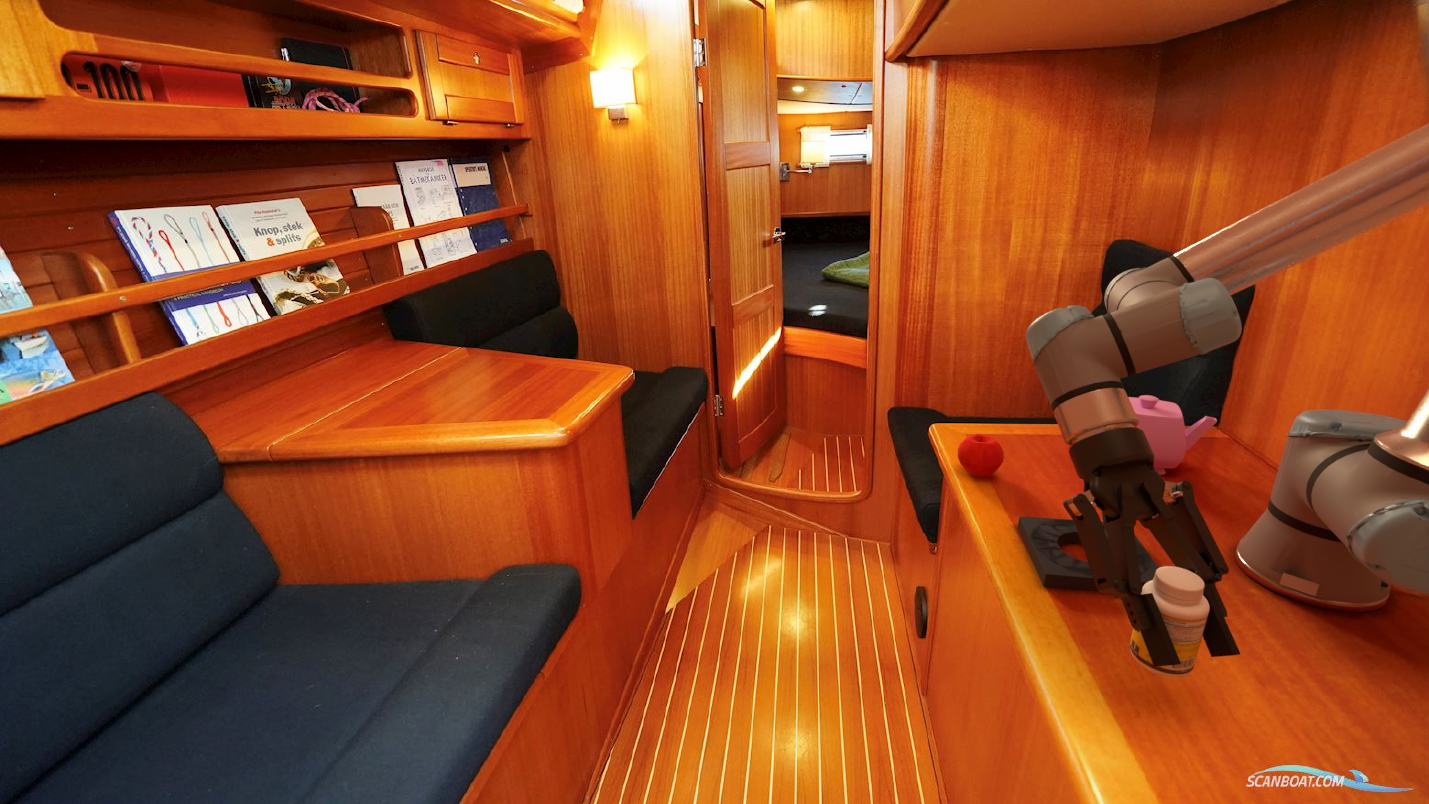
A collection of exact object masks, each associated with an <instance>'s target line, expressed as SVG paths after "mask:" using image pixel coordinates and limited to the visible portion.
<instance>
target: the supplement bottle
mask: <svg viewBox="0 0 1429 804" xmlns="http://www.w3.org/2000/svg"><path fill="white" fill-rule="evenodd" d="M1204 586H1205V584H1204V581H1203V580H1202V579H1201V578H1200V577H1199V576H1198V575H1196V574H1195V573H1193V572H1191V571H1189V570H1186V569H1183V568H1179V567H1176V566H1175V565H1174V566H1172V565H1164V566H1160V567H1159V568H1158V569H1157V570H1156V572H1155V576H1154V578H1153V580H1151V581H1149V582H1147V583H1146V584H1145V585H1144V586H1143V588H1142V592H1141V595H1143V594H1149V593H1152V594H1153V596H1154V599H1155V601H1156V604H1157V606H1158V608H1159V611H1160V613H1161V616H1162V618H1163V621H1164V623H1165V626H1166V628H1167V630H1168V633H1169V635H1170V638H1171V640H1172V643H1173V645H1174V648H1175V650H1176V652H1177V655H1178V657H1179V660H1180V662H1181V664H1178V665H1169V666H1154V665H1153V663H1152V660H1151V657H1150V655H1149V652H1148V650H1147V647H1146V645H1145V642H1144V640H1143V637H1142V635H1141V632H1140V630H1138V631H1135V630H1134V628H1133V627H1132V631H1131V637H1130V641H1129V651H1130V654H1131V656H1132V658H1134V660H1135V661H1136V662H1137V663H1138V664H1140V666H1142V667H1143V668H1144V669H1146V670H1147V671H1150V672H1152V673H1154V674H1156V675H1160V676H1163V677H1168V678H1183V677H1186V676H1188V675H1190V674H1191V673H1192V672H1193V670H1194V668H1195V666H1196V665H1195V664H1196V661H1197V657H1198V654H1199V650H1200V647H1201V644H1202V643H1201V642H1202V640H1203V632H1204V628H1205V624H1206V621H1207V617H1208V613H1209V609H1210V607H1209V603H1208V601H1207V599H1206V598H1205V597H1204V596H1203V590H1204Z"/></svg>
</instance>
